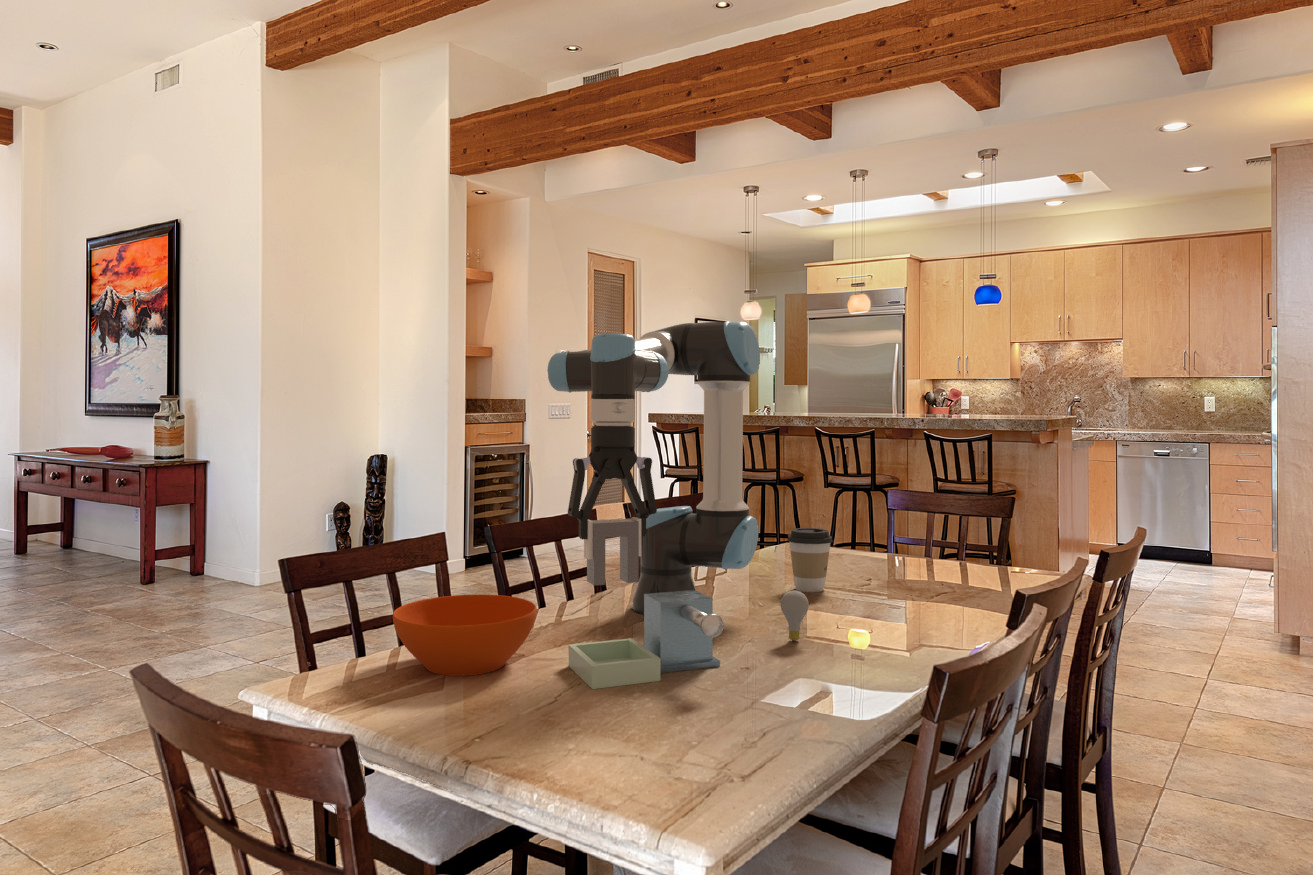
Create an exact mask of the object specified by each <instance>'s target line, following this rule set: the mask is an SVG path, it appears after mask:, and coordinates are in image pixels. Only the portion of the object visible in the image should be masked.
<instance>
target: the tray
mask: <svg viewBox="0 0 1313 875" xmlns="http://www.w3.org/2000/svg"><path fill="white" fill-rule="evenodd" d="M568 667H569V668H570V669H571V670H572V671H573V672H574V673H575V674H576V675H577V676H578V677H579V678H580V679H581V680H582V681H583V682H584V683H585V684H587V686H588V687H589V688H591V690H596V689H604V688H614V687H623V686H629V685H637V684H638V685H639V684H645V683H646V684H647V683H654V682H661V673H660V658H659V657H658V656H656V655H655V654H653V653H652V652H651V651H649V650H648V649H646V648H645V647H644V645H642V644H641V643H640V642H638V641H636V640H635V639H634V638H631V637H630V638H623V639H612V640H603V641H601V640H600V641H592V642H582V643H574V644H568Z"/></svg>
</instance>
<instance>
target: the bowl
mask: <svg viewBox="0 0 1313 875" xmlns="http://www.w3.org/2000/svg"><path fill="white" fill-rule="evenodd" d="M537 608H538V607H537V605H536V604H535V603H534V602H532V601H531V600H528V599H525V598H521V597H517V596H516V597H515V596H510V595H502V594H501V595H500V594H457V595H445V596H438V597H437V596H436V597H430V598H425V599H420V600H415V601H412V602H409V603H406V604H403V605H401V606H399V607H398V608H397V607H396V609H394V611H393V613H392V621H393V622H392V623H393V627H394V629H395V632H396V634H397V636H398V638H399V640H400V641H401V643H402V644H403V646H404V647H405V648H406V650H407V651H408V652H409V653H410V654H411V655H412V656H413V657H414V658H415V659H416V660H417V661H418V662H420V663H421V664H422V665H423V666H424V667H425V668H426V669H427V670H428V671H429V672H430V673H433V674H437V675H441V676H448V677H449V676H455V677H459V676H460V677H461V676H462V677H464V676H466V677H467V676H476V675H482V674H486V673H491V672H494V671H497V670H499V669H501V668H502V667H504V666H505V665H506V663H507V662H508V661H509V659H511V658H512V657H513V655H514V654H516V652H517V651H518V650H520V648H521V647H522V645H523V644H524V643H525V641H526V640H527V638H528V637H529V635H530V632H531V631H532V629H533V627H534V624H535V621H536V617H537V612H538V609H537Z"/></svg>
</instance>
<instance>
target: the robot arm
mask: <svg viewBox="0 0 1313 875" xmlns="http://www.w3.org/2000/svg"><path fill="white" fill-rule="evenodd" d="M760 365H761V352H760V345H759V341H758V338H757V335H756V333H755V331H754V329H753V328H752V326H751V325H750V324H749V323H748V322H745V321H736V320H734V321H733V320H724V321H709V322H690V323H680V324H675V325H671V326H668V327H664V328H661V329H657V330H654V331H649V332H647V333H646V332H645V333H644V334H643V335H642V336H640V338H637V339H635V338H634V336H633V335H631V334H628V333H599V334H596V335H594V336H593V337H592V338H591V348H590V349H584V350H579V351H569V350H566V351H563V352H562V351H561V352H556V353H554V354H553V355H552V356H551V357H550V359H549V361H548V364H547V369H546V370H547V379H548V382H549V385H550V386H551V387H552V388H553V390H555V391H557V392H564V393H565V392H567V393H569V394H570V393H572V392H573V393H577V392H582V393H583V392H591V393H590V394H591V395H590V397H591V398H590V401H591V402H590V422H592V423H594V424H593V425H592V426H591V428H590V453H589V454H588V456H587V457H582V458H578V457H575V458H573V459H572V465H573V478H572V485H571V490H570V496H569V502H568V508H567V514H568V516H570V517H573V518H576V519H577V521H578V538H579V539H580V540H583V557H584V558H585V559H586V560H587V559H588V560H590V559H593V521H592V520H593V519H592V520H591V519H589V518H590V515H591V514H592V511H593V509H594V506H595V504H596V501H597V498H598V496H599V495H600V492H601V488H602V487H603V485H604V484H605V482H606V480H613V479H618V480H620V481H621V483H622V484H623V487H624V490H625V491H626V494H627V496H628V499H629V501H630V503H631V506H632V509H633V510H634V513H635V515H636V517H635V516H633V517H631V519H633V520H636V521H639V557H640V576H639V582H637V586H636V589H635V592H634V595H633V599H632V610H633V611H634V612H636V613H639V614H642V615H644V594H650V593H663V592H675V591H687V590H696V591H697V588H696V586H695V582H694V579H693V576H692V574H693V573H692V566H694V567H705V568H718V569H723V570H731V569H732V570H741V569H744V568H746V567H747V566H748V565H749V564H750V563H751V561H752V559H753V557H754V555H755V552H756V549H757V545H758V542H759V540H758V539H759V525H758V520H757V519H756V518H755V517H754V516H752V515H750V507H749V505H747V503H746V502H745V501H744V500H743V461H744V460H743V456H744V454H743V449H744V446H743V438H744V435H743V434H744V433H743V432H744V430H743V429H744V412H743V411H744V391H745V390H746V389H747V387H748V386H749V385H750V384H751V376H754V375H756V374H757V373H758V372H759V369H760ZM669 375H680V376H697V378H696V380H697V381H696V382H697V385H699V387H700V388H701V389H702V390H703V393H704V394H703V470H702V471H703V474H702V475H703V479H702V480H703V482H702V483H703V484H702V485H703V488H702V491H703V492H702V493H703V496H702V500H701V501H700V502H699V503H698V504H697V505H696V507H695V508H696V510H695V513H693V508H692V506H690V505H681V506H679V505H678V506H672V507H662V508H657V502H656V497H655V491H654V484H653V479H652V472H651V470H652V463H653V460H652V458H651V457H649V456H648V457H647V456H642V457H641V456H637V454H636V451H635V450H636V448H635V447H636V445H635V444H636V443H635V442H636V438H635V437H636V431H635V430H636V428H635V426H634V425H632V423H634V422H636V415H635V414H636V410H635V408H636V407H635V404H636V401H635V398H636V396H635V394H636V393H635V392H641V393H650V392H654V391H655V392H656V391H658V390H660V389H661V388H662V387H663V386H664V385H665V384H666V382H667V380H668V379H669ZM635 464H636V466H637V468H638V470H639V477H640V478H639V479H640V485H641V490H642V496H643V500H642V498H641V495H640V493H639V491H638V488H637V486H636V484H635V480H634V476H633V474H632V471H631V470H632V469H633V467H634V466H635ZM589 465H590V466H591V467H592V468H593V470H594V473H593V475H592V479H591V482H590V485H589V487H588V489H587V492H586V495H585V497H584V499H583V502H582V501H581V500H582V495H583V490H584V485H585V484H584V483H585V478H586V470H588V467H589ZM581 502H582V504H581Z"/></svg>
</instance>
